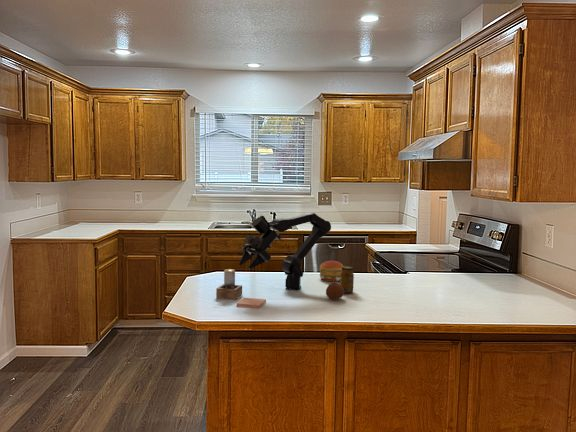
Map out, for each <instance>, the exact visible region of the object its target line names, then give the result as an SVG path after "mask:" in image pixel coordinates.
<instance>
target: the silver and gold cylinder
mask: <svg viewBox="0 0 576 432" xmlns="http://www.w3.org/2000/svg"><path fill="white" fill-rule="evenodd" d="M223 271H224V272H223V278H224V279H223V284H224V288H225V289H235V285H236V270H235V269H232V268H228V269H226V268H225V269H223Z"/></svg>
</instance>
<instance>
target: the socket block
mask: <svg viewBox="0 0 576 432" xmlns="http://www.w3.org/2000/svg"><path fill="white" fill-rule="evenodd" d="M215 294H216V295H215V297H216V299H217V300H218V299H220V300H231V301H236V300H238V299H239V298H240V297H242V296H243V285H242V284H235V289H225V288H224V283H223V284H221V285H219V286H218V287H217V288H216V292H215Z"/></svg>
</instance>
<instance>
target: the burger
mask: <svg viewBox="0 0 576 432" xmlns="http://www.w3.org/2000/svg"><path fill="white" fill-rule="evenodd" d="M342 267H345V266H344V265H343V264H342V263H341V262H340V261H338V260H326V261H324V262H322V263H321V264H320V266H319V272H320V273H319V276H320V279H321V280H322V281H327V282H338V281H340V282H341V273H342Z"/></svg>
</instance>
